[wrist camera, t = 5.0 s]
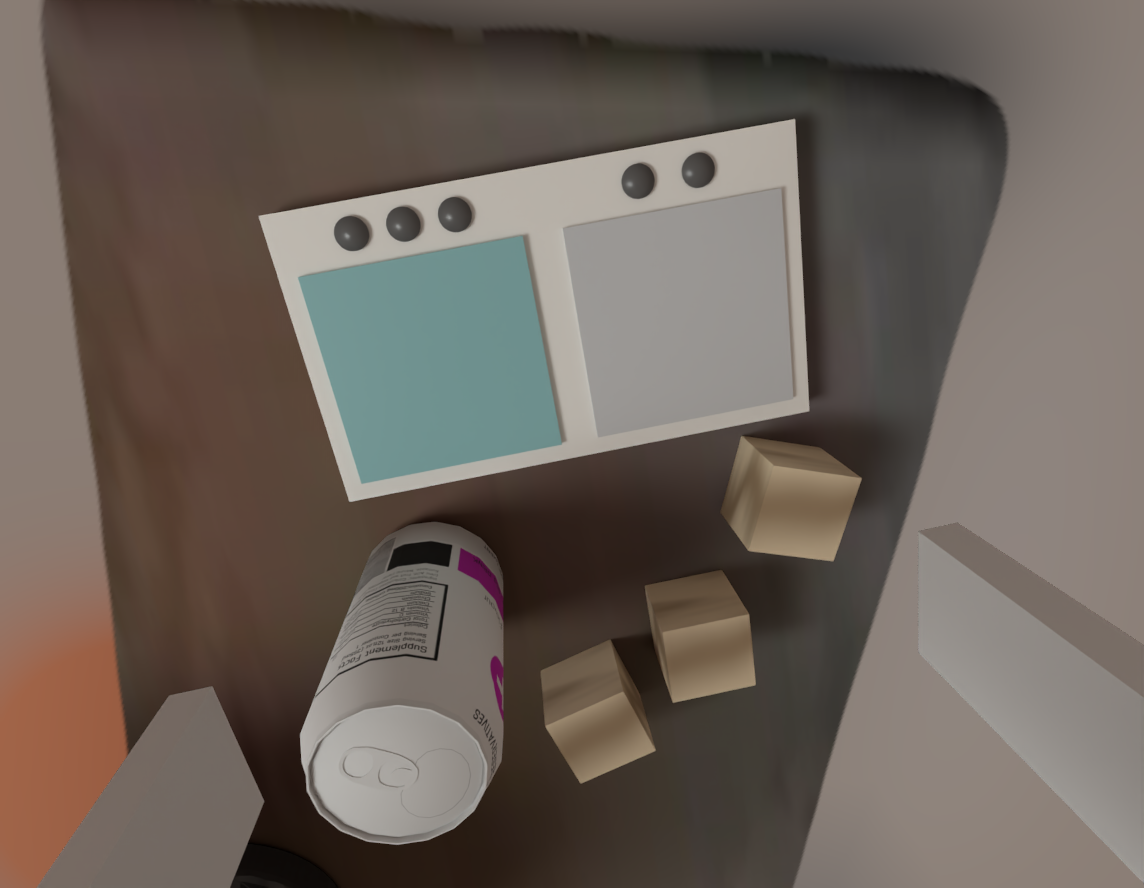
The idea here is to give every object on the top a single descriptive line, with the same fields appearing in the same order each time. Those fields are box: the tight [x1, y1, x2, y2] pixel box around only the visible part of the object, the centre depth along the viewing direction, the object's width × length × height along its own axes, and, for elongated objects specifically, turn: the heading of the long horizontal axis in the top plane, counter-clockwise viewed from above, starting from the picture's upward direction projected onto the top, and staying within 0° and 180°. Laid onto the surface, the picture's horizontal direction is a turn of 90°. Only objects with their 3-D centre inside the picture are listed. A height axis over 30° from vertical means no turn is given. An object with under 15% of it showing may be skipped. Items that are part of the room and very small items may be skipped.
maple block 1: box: [541, 640, 656, 783], centre depth 41 cm, size 5×5×5 cm
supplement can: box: [300, 522, 503, 845], centre depth 33 cm, size 8×8×15 cm
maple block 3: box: [720, 436, 862, 561], centre depth 38 cm, size 5×5×5 cm
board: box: [259, 119, 809, 502], centre depth 34 cm, size 15×26×2 cm, turn 100°
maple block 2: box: [645, 570, 756, 703], centre depth 40 cm, size 5×5×5 cm
